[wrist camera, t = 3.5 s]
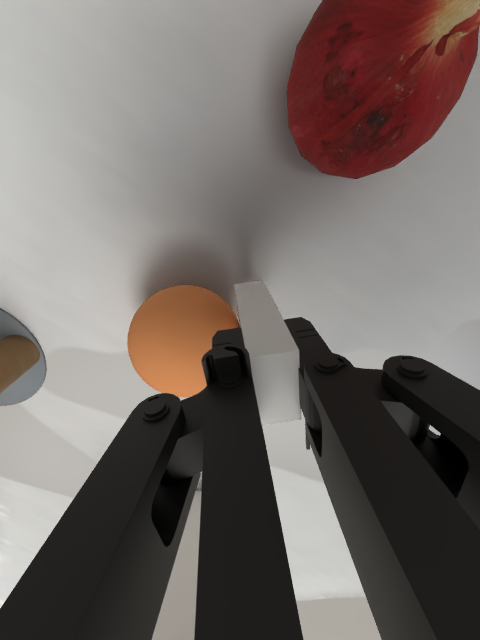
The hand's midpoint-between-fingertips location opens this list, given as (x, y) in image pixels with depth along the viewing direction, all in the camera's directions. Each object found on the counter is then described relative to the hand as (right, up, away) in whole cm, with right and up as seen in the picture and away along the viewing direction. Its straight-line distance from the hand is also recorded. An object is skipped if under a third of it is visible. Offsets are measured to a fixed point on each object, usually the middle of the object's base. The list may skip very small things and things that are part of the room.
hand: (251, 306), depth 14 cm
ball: (-3, -2, +1) cm, 4 cm away
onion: (+4, +9, -1) cm, 10 cm away
